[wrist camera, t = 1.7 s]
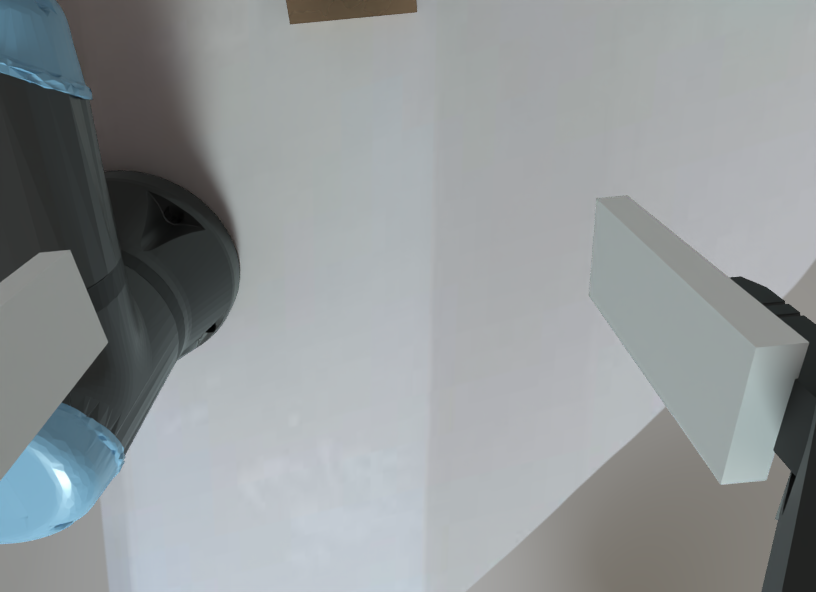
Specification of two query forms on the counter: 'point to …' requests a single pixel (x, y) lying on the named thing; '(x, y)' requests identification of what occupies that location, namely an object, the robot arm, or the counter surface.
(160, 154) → the counter surface
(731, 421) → the robot arm
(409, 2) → the mounted unit
